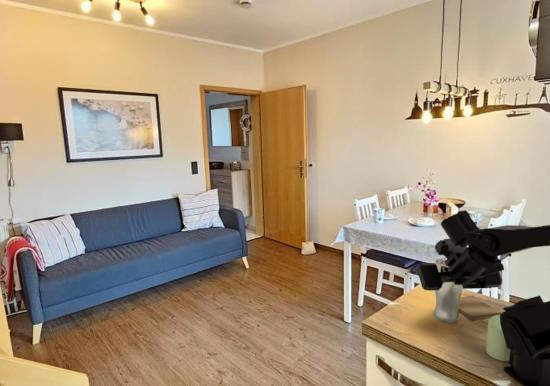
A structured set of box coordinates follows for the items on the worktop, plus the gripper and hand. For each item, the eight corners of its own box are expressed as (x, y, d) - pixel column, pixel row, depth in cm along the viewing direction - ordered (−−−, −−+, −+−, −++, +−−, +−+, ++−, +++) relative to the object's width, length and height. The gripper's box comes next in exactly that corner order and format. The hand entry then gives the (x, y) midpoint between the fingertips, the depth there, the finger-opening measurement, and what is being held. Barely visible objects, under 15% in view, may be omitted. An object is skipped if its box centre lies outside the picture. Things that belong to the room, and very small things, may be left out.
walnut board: (501, 315, 90) (501, 312, 90) (471, 320, 88) (471, 316, 88) (472, 298, 100) (472, 295, 100) (445, 302, 98) (445, 299, 98)
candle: (499, 363, 72) (502, 327, 70) (480, 349, 76) (482, 315, 75) (519, 359, 73) (522, 323, 71) (499, 345, 78) (501, 311, 76)
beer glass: (459, 327, 86) (463, 269, 83) (429, 319, 89) (432, 264, 87) (462, 314, 91) (465, 260, 89) (434, 308, 95) (436, 256, 93)
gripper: (497, 230, 83) (468, 258, 96) (421, 232, 83) (402, 260, 95) (518, 273, 76) (484, 297, 89) (436, 276, 76) (413, 300, 89)
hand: (445, 287), depth 91 cm, fingers open, 9 cm apart
